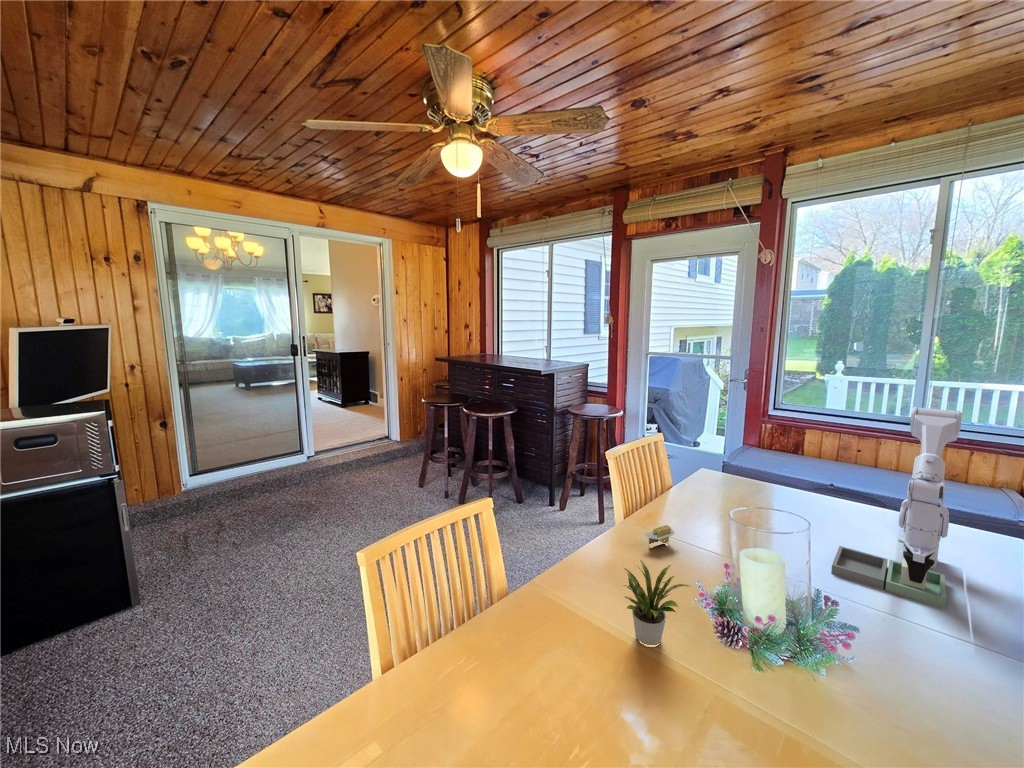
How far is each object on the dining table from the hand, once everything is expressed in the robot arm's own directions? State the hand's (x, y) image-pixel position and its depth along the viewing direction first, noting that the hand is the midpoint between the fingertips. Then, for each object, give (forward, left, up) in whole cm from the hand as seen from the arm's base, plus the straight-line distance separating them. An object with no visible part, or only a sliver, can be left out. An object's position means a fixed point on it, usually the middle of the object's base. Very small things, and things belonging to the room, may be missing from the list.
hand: (915, 577), depth 108 cm
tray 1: (0, -11, -3) cm, 12 cm away
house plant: (+61, -41, -4) cm, 73 cm away
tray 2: (0, 0, -3) cm, 3 cm away
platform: (+23, -57, -4) cm, 61 cm away
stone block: (0, 0, -2) cm, 2 cm away
